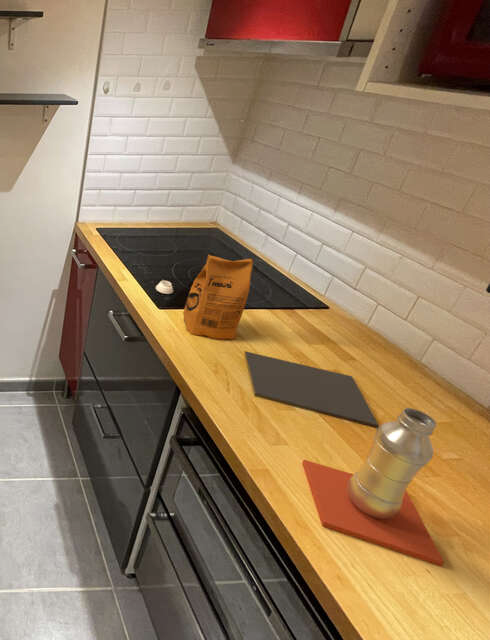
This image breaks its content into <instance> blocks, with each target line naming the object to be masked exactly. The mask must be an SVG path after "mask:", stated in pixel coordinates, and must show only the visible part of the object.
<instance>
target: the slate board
mask: <svg viewBox="0 0 490 640" xmlns="http://www.w3.org/2000/svg"><path fill="white" fill-rule="evenodd" d="M243 355H244V358H245V363H246V367H247V371H248V375H249V380H250V383H251V388H252V393H253V396H255V397H258V398H262V399H265V400H270V401H272V402H276V403H280V404H283V405H284V404H285V405H288V406H292V407H296V408H300V409H303V410H306V411H311V412H315V413H319V414H323V415H327V416H330V417H333V418H338V419H342V420H345V421H349V422H353V423H357V424H361V425H364V426H368V427H372V428H374V429H375V428H376V429H377V428H378V427H379V426H380V425H379V423H378V421H377V419H376V418H375V415H374V414H373V411H372V410H371V408H370V406H369V405H368V403H367V401H366V399H365V397H364V395H363V393H362V392H361V390H360V388H359V386H358V384H357V382H356V381H355V379H354V377H353V376H352V375H348V374H344V373H339V372H336V371H330V370H327V369H322V368H319V367H313V366H309V365H305V364H301V363H297V362H294V361H293V362H292V361H288V360H285V359H280V358H276V357H271V356H267V355H262V354H258V353H255V352H249V351H246V350H245V351H244V353H243Z"/></svg>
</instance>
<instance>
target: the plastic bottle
mask: <svg viewBox="0 0 490 640" xmlns="http://www.w3.org/2000/svg"><path fill="white" fill-rule="evenodd" d="M396 419H397V420H391V421H387V422H383V423H382V424H381V425H379V426H378V428H376V431H375V433H374V437H373V441H372V444H371V448H370V450H369V452H368V455H367V457H366V459H365V461H364V462H363V464H362V465H361V466H360V468H358V470H357V471H356V472H355V473H353V474H354V475H353V476H352V477H351V478H350V479H349V481H348V485H347V492H348V495H349V497H350V499H351V501H352V502H353V503H354V504H355V505H356V506H357V507H358V508H359V509H360V510H362V511H363V512H365V513H366V514H368V515H370V516H373V517H375V518H379V519H390V518H393V517H394V516H395V515H396V514H398V513H399V511H400V508H401V505H402V501H403V496H404V494H405V492H406V491H407V490H408V487H409V485H410V483H412V481H413V479H414V478H415V477H416V476H417V474H418V473H419V472H420V471H421V470H422V469H423V468H424V467H425V466H426V465H427V464H428V463H430V461H431V460H432V459H433V457H434V447H433V444H432V440H431V439H430V436H432V435H433V433H434V430H435V428H436V427H437V421H436V420H435V419H434V418H433V417H432V416H431V415H429V414H427V413H425V412H423V411H422V410H419V409H416V408H412V407H405V408H404V409H402V411H401V413H400V414H398V416H397V418H396Z"/></svg>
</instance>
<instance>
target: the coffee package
mask: <svg viewBox="0 0 490 640" xmlns="http://www.w3.org/2000/svg"><path fill="white" fill-rule="evenodd" d="M253 262H254V261H253V259H251V258H244V259H239V260H230V259H229V260H228V259H224V258H222V257H218V256H213V255H210V254H208V255H207V259H206V264H204V266H203V267H202V268H201V271H200V272H199V273H198V274H197V276H196V277H195V279H194V280H193V283H192V285H191V287H190V291H189V292H188V295H187V298H186V301H185V305H184V309H183V312H182V314H183V321H184V323H185V330H187V331H188V332H189V334H191V335H193V336H206V337H208V338H211V339H215V340H223V339H225V340H226V339H229V340H232V339H234V338H235V335H236V333H237V330H238V328H239V324H240V322H241V318H242V317H243V314H244V313H243V312H244V310H245V306H246V303H247V300H248V297H249V293H250V288H251V281H252V279H251V276H252V271H253V266H254V265H253V264H254V263H253Z"/></svg>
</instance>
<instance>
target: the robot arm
mask: <svg viewBox="0 0 490 640" xmlns="http://www.w3.org/2000/svg"><path fill="white" fill-rule="evenodd" d="M485 291H486V292H487V293H488V294H490V283H489V284H488V285H487V287H486V288H485Z"/></svg>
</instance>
